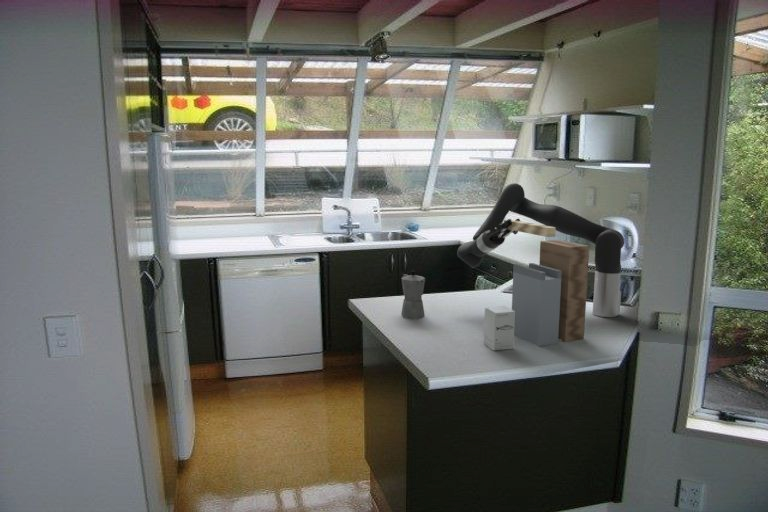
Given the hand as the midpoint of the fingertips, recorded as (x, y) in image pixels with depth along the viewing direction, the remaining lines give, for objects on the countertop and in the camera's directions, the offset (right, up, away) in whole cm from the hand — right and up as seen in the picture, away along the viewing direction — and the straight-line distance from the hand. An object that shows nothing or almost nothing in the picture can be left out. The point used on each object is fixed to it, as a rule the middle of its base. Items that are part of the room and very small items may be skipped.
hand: (514, 221), depth 194 cm
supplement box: (-9, -42, -13) cm, 45 cm away
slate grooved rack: (+5, -40, -5) cm, 41 cm away
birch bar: (+3, -4, -6) cm, 8 cm away
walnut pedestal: (+15, -39, -1) cm, 42 cm away
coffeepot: (-35, -36, +24) cm, 55 cm away
